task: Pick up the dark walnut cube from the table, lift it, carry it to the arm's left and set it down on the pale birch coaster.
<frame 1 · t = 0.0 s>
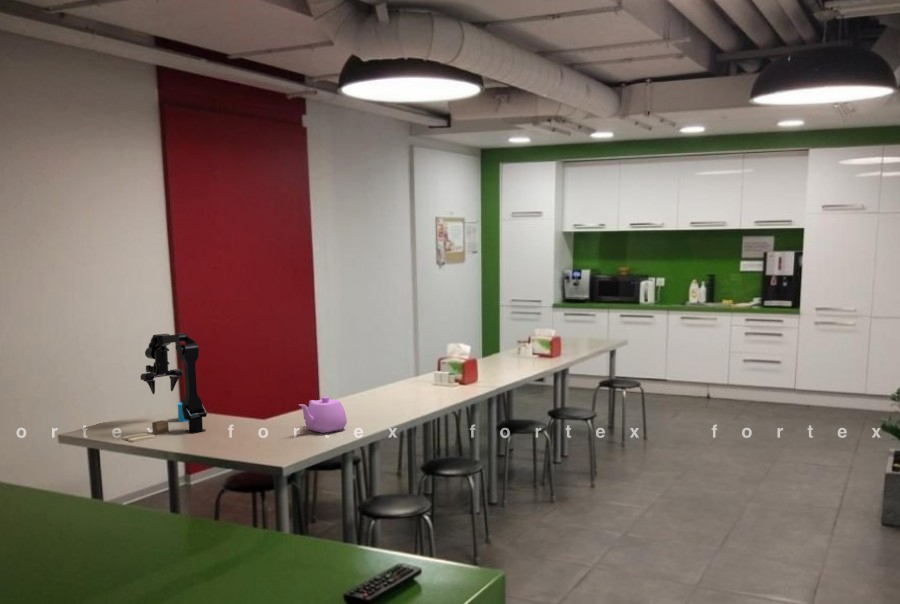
hand: (162, 392, 342), 15 cm above the table, fingers open, 9 cm apart
teapot: (325, 430, 324), on the table
walnut cube: (160, 432, 324), on the table
birch coaster: (139, 438, 314), on the table
mug: (189, 419, 351), on the table
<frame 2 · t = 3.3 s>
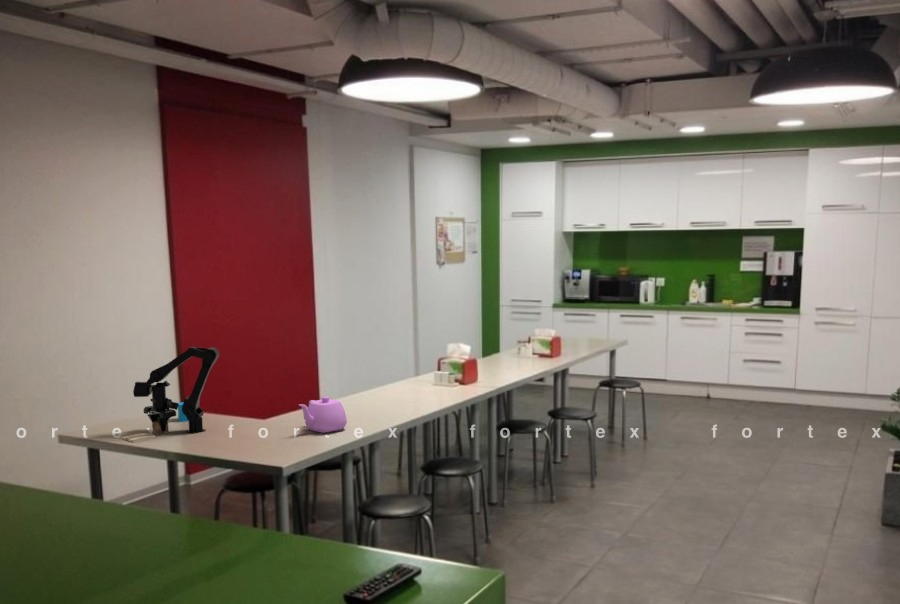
hand: (160, 430, 324), 1 cm above the table, fingers closed on walnut cube, 5 cm apart
walnut cube: (160, 432, 324), on the table, touching gripper
everything else where it was.
when the fingers open (3 cm above the table, at t = 6.9 s): walnut cube drops 1 cm, resting on birch coaster.
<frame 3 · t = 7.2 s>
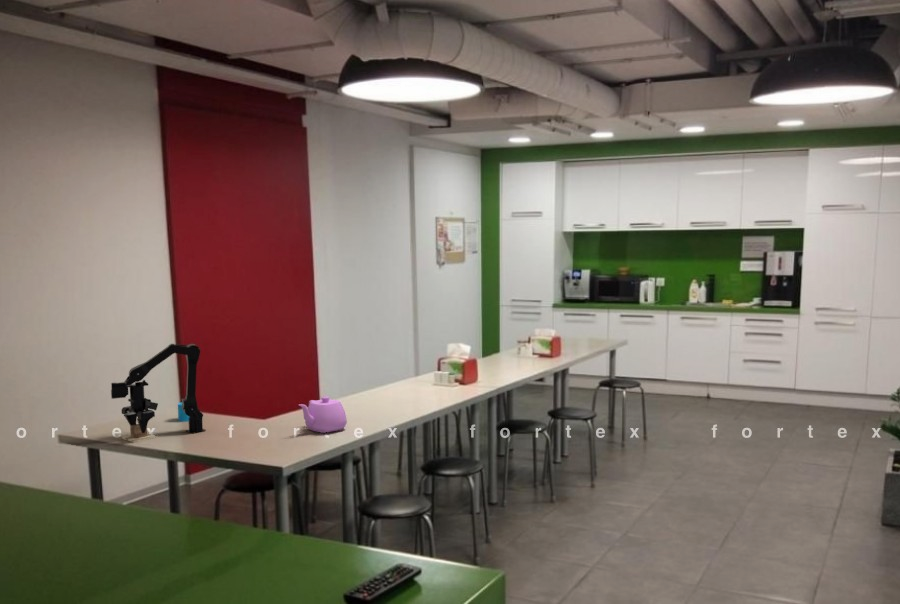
hand: (138, 431, 314), 3 cm above the table, fingers open, 8 cm apart
walnut cube: (139, 436, 314), point 1 cm above the table, touching birch coaster
everything else where it was.
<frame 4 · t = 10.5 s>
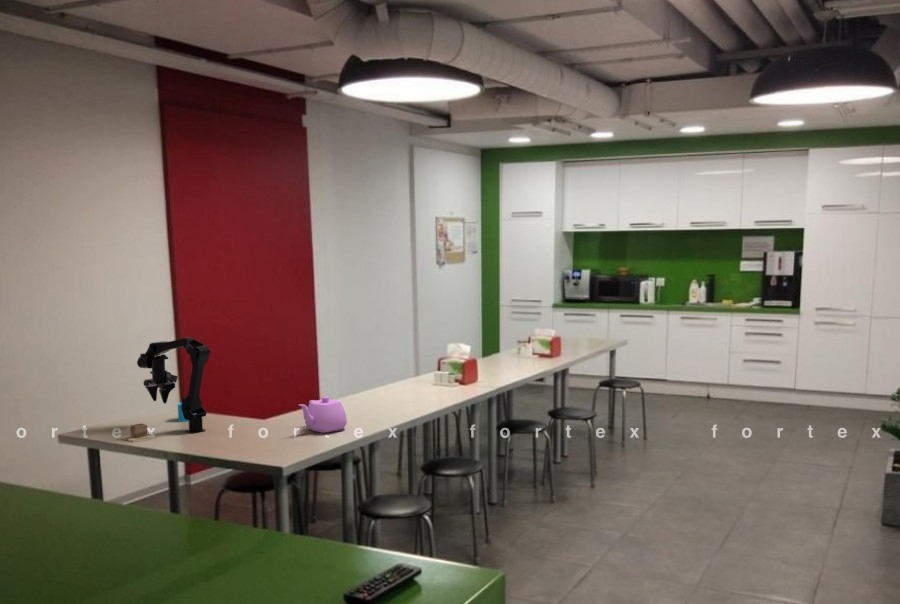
hand: (159, 402, 332), 12 cm above the table, fingers open, 9 cm apart
nothing on the table moved.
at the end: walnut cube inside the target area on the birch coaster (0.1 cm from its centre), point 0.8 cm above the birch coaster's base; walnut cube tilted 0°; the gripper is holding nothing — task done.
